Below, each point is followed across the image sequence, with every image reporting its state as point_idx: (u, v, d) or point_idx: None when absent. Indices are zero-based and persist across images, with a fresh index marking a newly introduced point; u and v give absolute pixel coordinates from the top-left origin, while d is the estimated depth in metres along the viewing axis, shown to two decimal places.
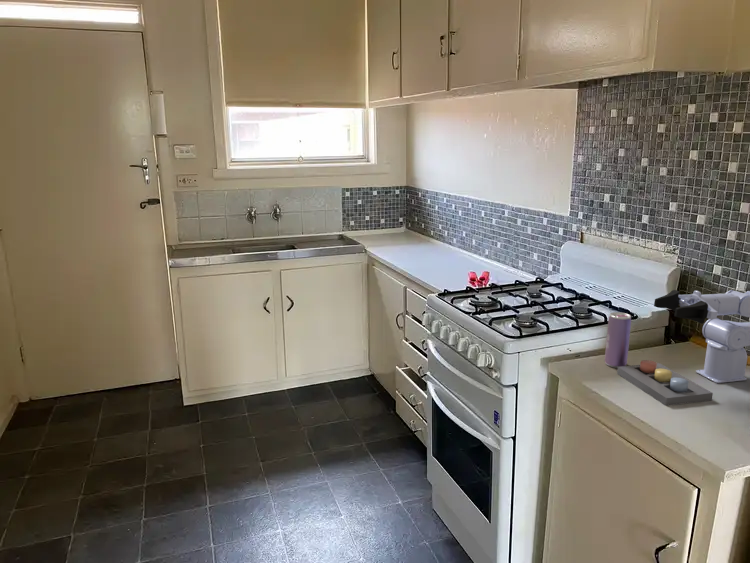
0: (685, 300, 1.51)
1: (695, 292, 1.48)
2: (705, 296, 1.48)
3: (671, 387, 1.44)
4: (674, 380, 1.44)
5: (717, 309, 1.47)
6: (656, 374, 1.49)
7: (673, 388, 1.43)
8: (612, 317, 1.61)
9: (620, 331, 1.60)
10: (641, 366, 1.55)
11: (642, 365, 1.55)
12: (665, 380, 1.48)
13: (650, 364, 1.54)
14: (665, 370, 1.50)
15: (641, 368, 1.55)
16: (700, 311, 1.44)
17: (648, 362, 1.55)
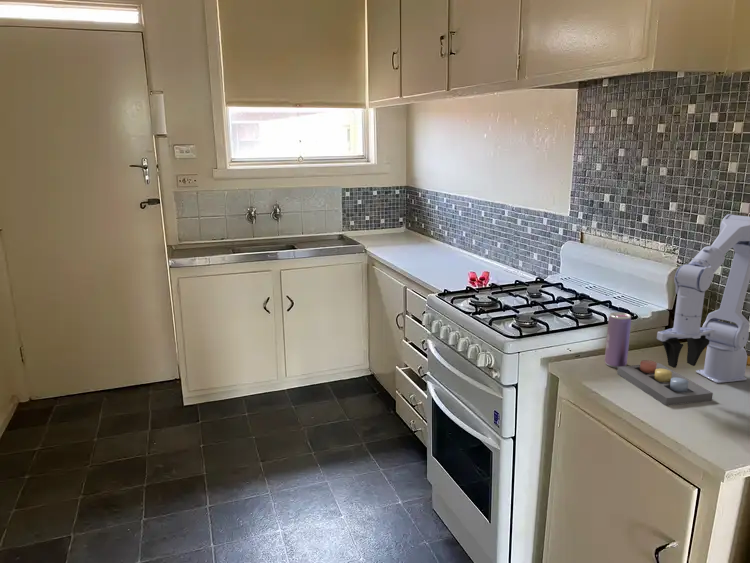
0: None
1: None
2: (697, 327, 1.38)
3: (671, 387, 1.44)
4: (674, 380, 1.44)
5: None
6: (656, 374, 1.49)
7: (673, 388, 1.43)
8: (612, 317, 1.61)
9: (620, 331, 1.60)
10: (641, 366, 1.55)
11: (642, 365, 1.55)
12: (665, 380, 1.48)
13: (650, 364, 1.54)
14: (665, 370, 1.50)
15: (641, 368, 1.55)
16: None
17: (648, 362, 1.55)
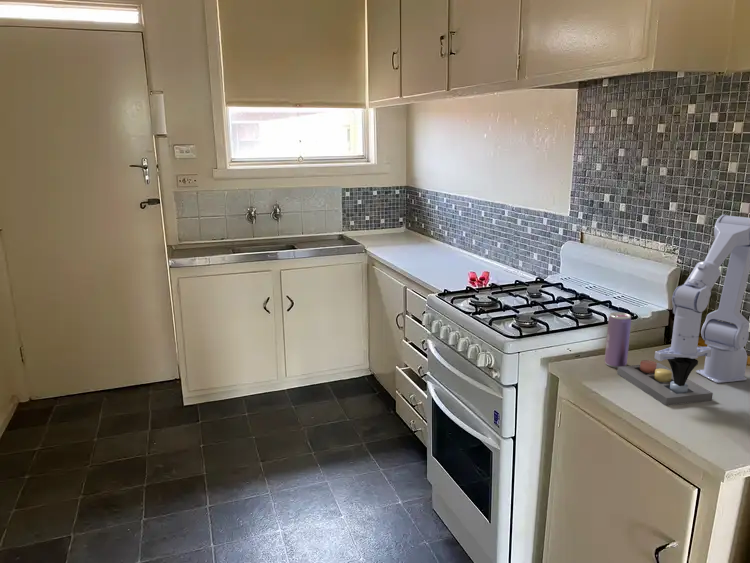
0: None
1: None
2: (694, 347, 1.39)
3: (671, 390, 1.44)
4: (674, 383, 1.44)
5: None
6: (656, 374, 1.49)
7: (673, 391, 1.44)
8: (612, 317, 1.61)
9: (620, 331, 1.60)
10: (641, 366, 1.55)
11: (642, 365, 1.55)
12: (665, 380, 1.48)
13: (650, 364, 1.54)
14: (665, 370, 1.50)
15: (641, 368, 1.55)
16: None
17: (648, 362, 1.55)
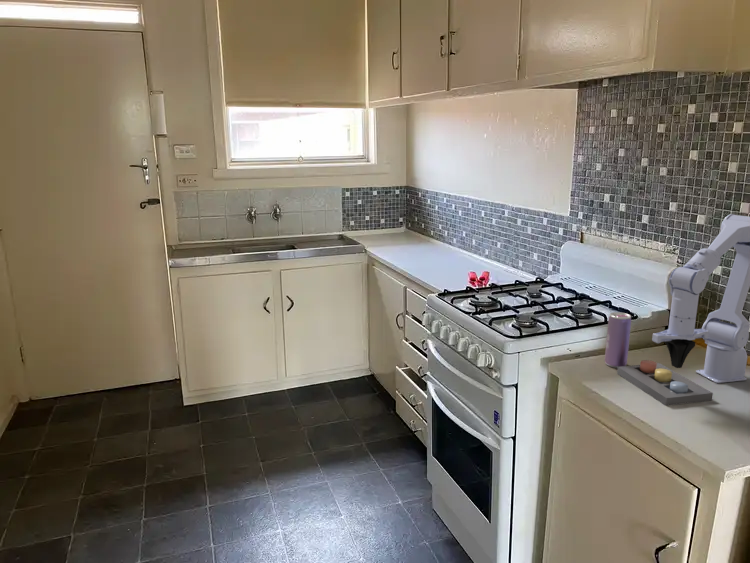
0: None
1: None
2: (692, 329, 1.39)
3: None
4: (674, 384, 1.44)
5: None
6: (656, 374, 1.49)
7: None
8: (612, 317, 1.61)
9: (620, 331, 1.60)
10: (641, 366, 1.55)
11: (642, 365, 1.55)
12: (665, 380, 1.48)
13: (650, 364, 1.54)
14: (665, 370, 1.50)
15: (641, 368, 1.55)
16: None
17: (648, 362, 1.55)
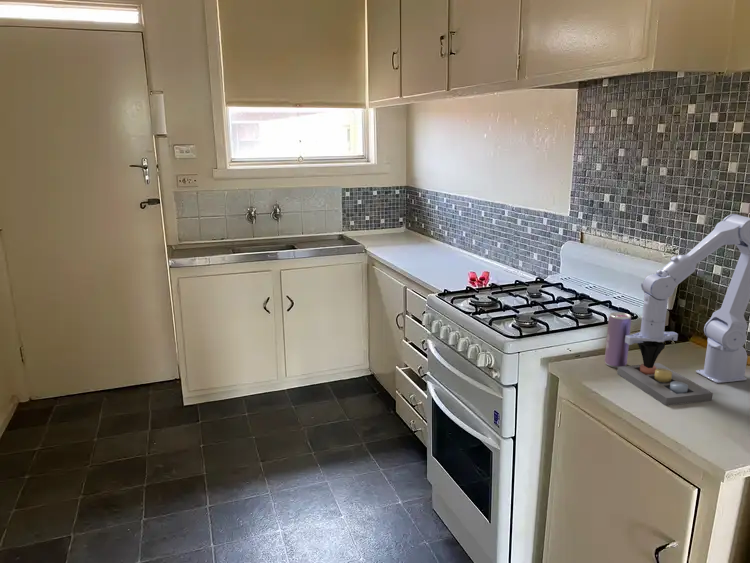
0: None
1: None
2: (661, 331, 1.50)
3: None
4: (674, 384, 1.44)
5: None
6: (656, 374, 1.49)
7: None
8: (612, 317, 1.61)
9: (620, 331, 1.60)
10: (641, 370, 1.55)
11: (642, 369, 1.55)
12: (665, 380, 1.48)
13: (650, 368, 1.54)
14: (665, 370, 1.50)
15: None
16: None
17: None
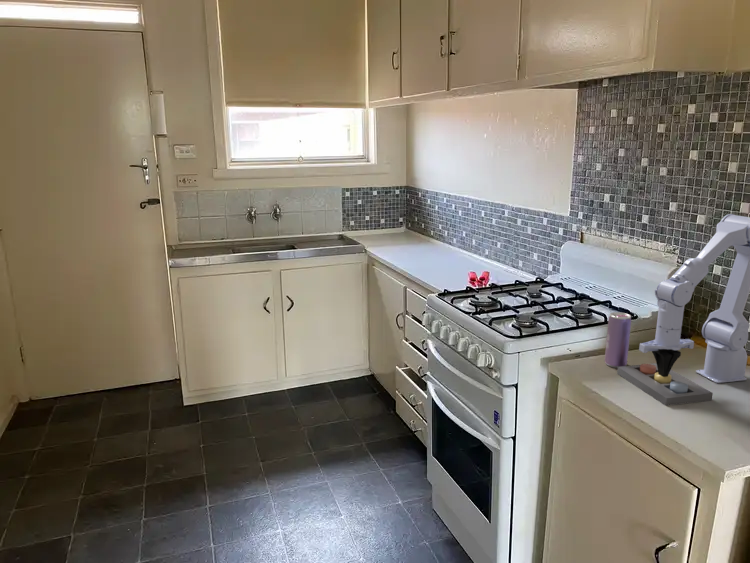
0: None
1: None
2: (677, 339, 1.45)
3: None
4: (674, 384, 1.44)
5: None
6: (656, 378, 1.50)
7: None
8: (612, 317, 1.61)
9: (620, 331, 1.60)
10: (641, 370, 1.55)
11: (642, 369, 1.55)
12: None
13: (650, 368, 1.54)
14: None
15: None
16: None
17: (648, 366, 1.55)
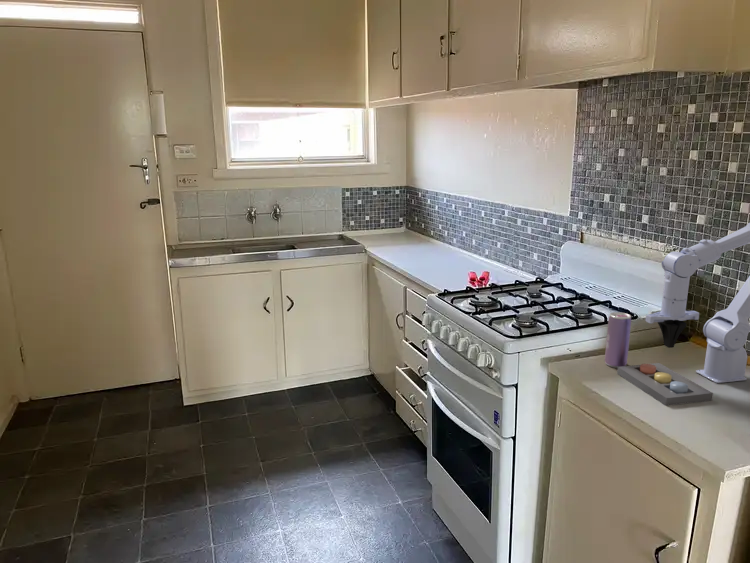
0: None
1: None
2: (683, 310, 1.48)
3: None
4: (674, 384, 1.44)
5: None
6: (656, 378, 1.50)
7: None
8: (612, 317, 1.61)
9: (620, 331, 1.60)
10: (641, 370, 1.55)
11: (642, 369, 1.55)
12: None
13: (650, 368, 1.54)
14: (665, 374, 1.50)
15: None
16: None
17: (648, 366, 1.55)
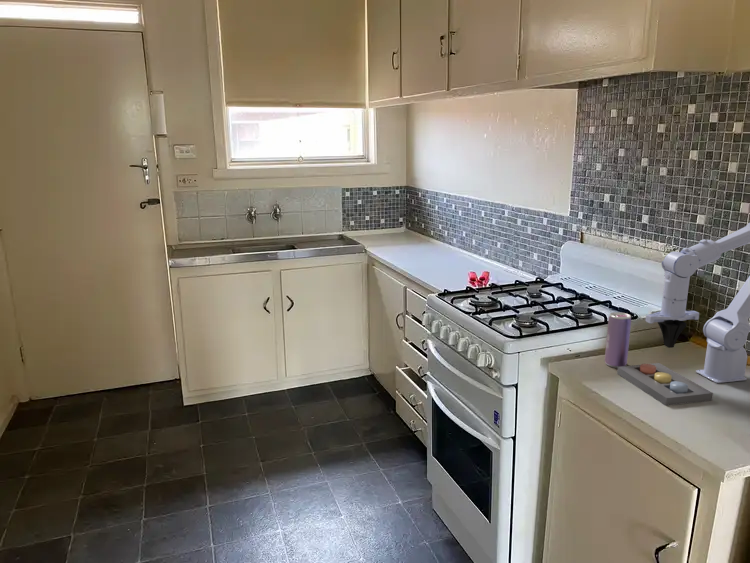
0: None
1: None
2: (683, 310, 1.48)
3: None
4: (674, 384, 1.44)
5: None
6: (656, 378, 1.50)
7: None
8: (612, 317, 1.61)
9: (620, 331, 1.60)
10: (641, 370, 1.55)
11: (642, 369, 1.55)
12: None
13: (650, 368, 1.54)
14: (665, 374, 1.50)
15: None
16: None
17: (648, 366, 1.55)
